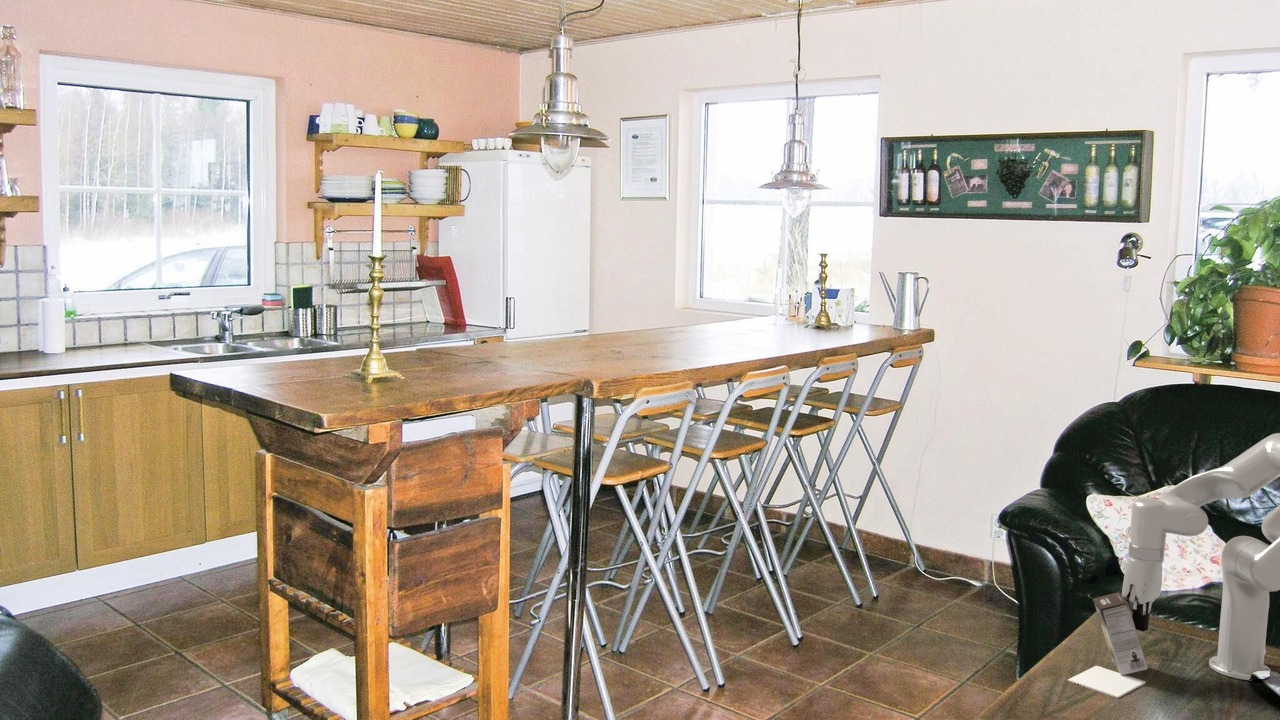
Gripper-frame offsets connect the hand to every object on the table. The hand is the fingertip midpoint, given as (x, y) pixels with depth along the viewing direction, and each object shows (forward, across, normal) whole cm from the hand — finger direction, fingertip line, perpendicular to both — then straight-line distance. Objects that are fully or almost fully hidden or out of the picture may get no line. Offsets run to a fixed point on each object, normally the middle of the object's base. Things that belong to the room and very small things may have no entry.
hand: (1139, 629), depth 254 cm
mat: (+10, +14, 0) cm, 17 cm away
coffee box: (+8, +3, 0) cm, 9 cm away
